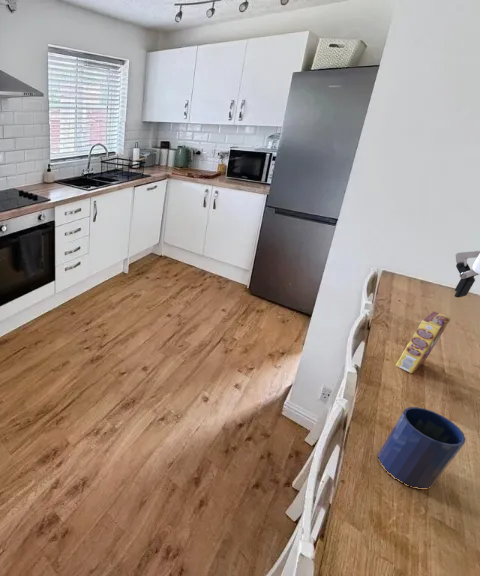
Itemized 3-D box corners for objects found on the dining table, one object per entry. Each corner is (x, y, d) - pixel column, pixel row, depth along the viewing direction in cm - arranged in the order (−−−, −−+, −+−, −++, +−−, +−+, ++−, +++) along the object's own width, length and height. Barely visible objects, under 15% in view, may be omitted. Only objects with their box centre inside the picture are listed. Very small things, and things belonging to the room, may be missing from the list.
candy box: (413, 375, 98) (441, 327, 90) (394, 366, 101) (420, 319, 94) (425, 363, 102) (452, 317, 95) (407, 355, 105) (432, 310, 98)
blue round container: (443, 480, 70) (476, 437, 64) (415, 497, 67) (447, 452, 61) (395, 444, 77) (421, 402, 71) (367, 457, 74) (392, 414, 68)
